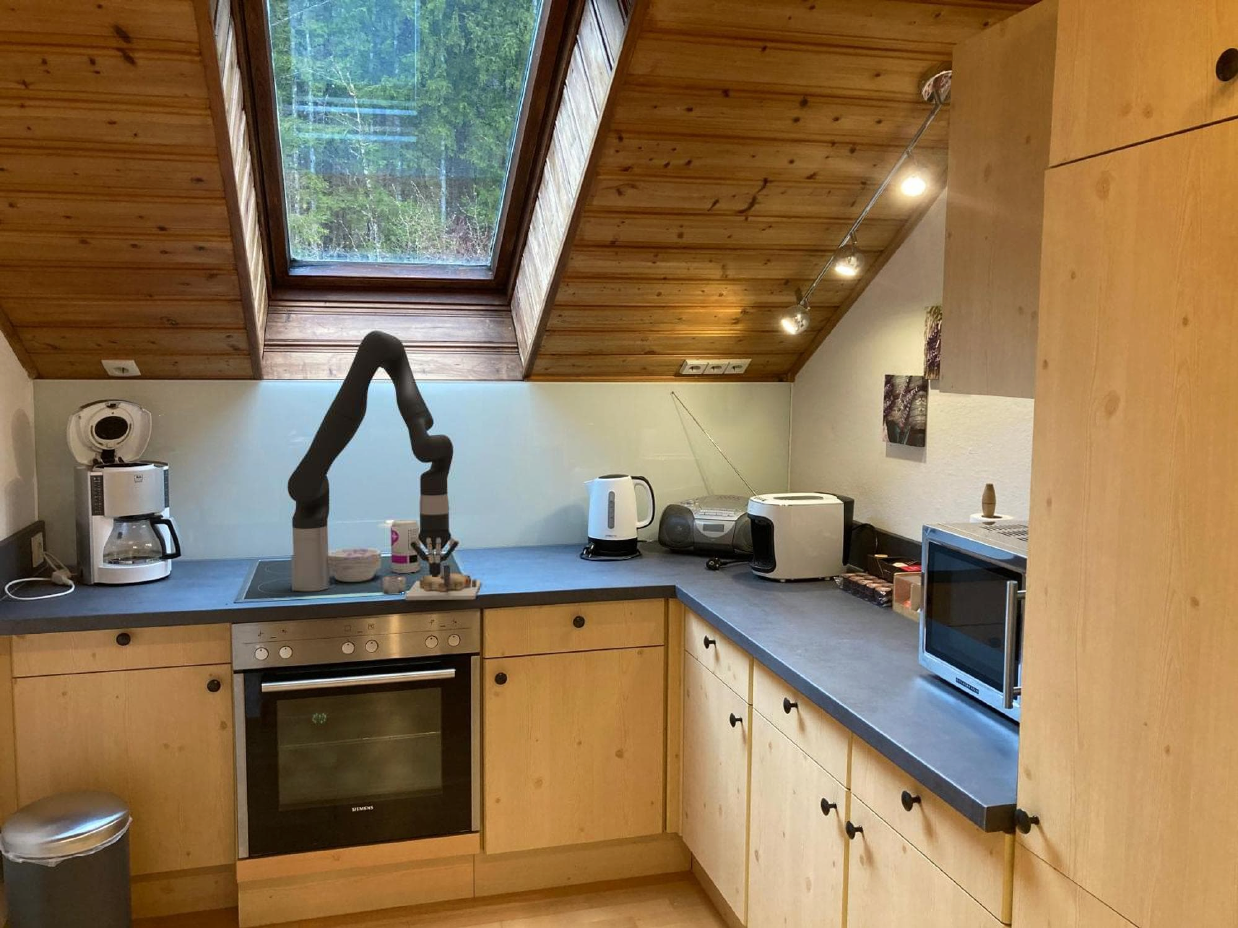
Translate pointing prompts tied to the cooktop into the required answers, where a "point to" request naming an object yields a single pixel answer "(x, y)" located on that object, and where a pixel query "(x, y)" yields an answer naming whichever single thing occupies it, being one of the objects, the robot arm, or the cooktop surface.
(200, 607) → the cooktop surface
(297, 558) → the robot arm
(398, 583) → the link
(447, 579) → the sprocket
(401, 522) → the supplement can
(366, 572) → the paper bowls
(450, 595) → the plate
